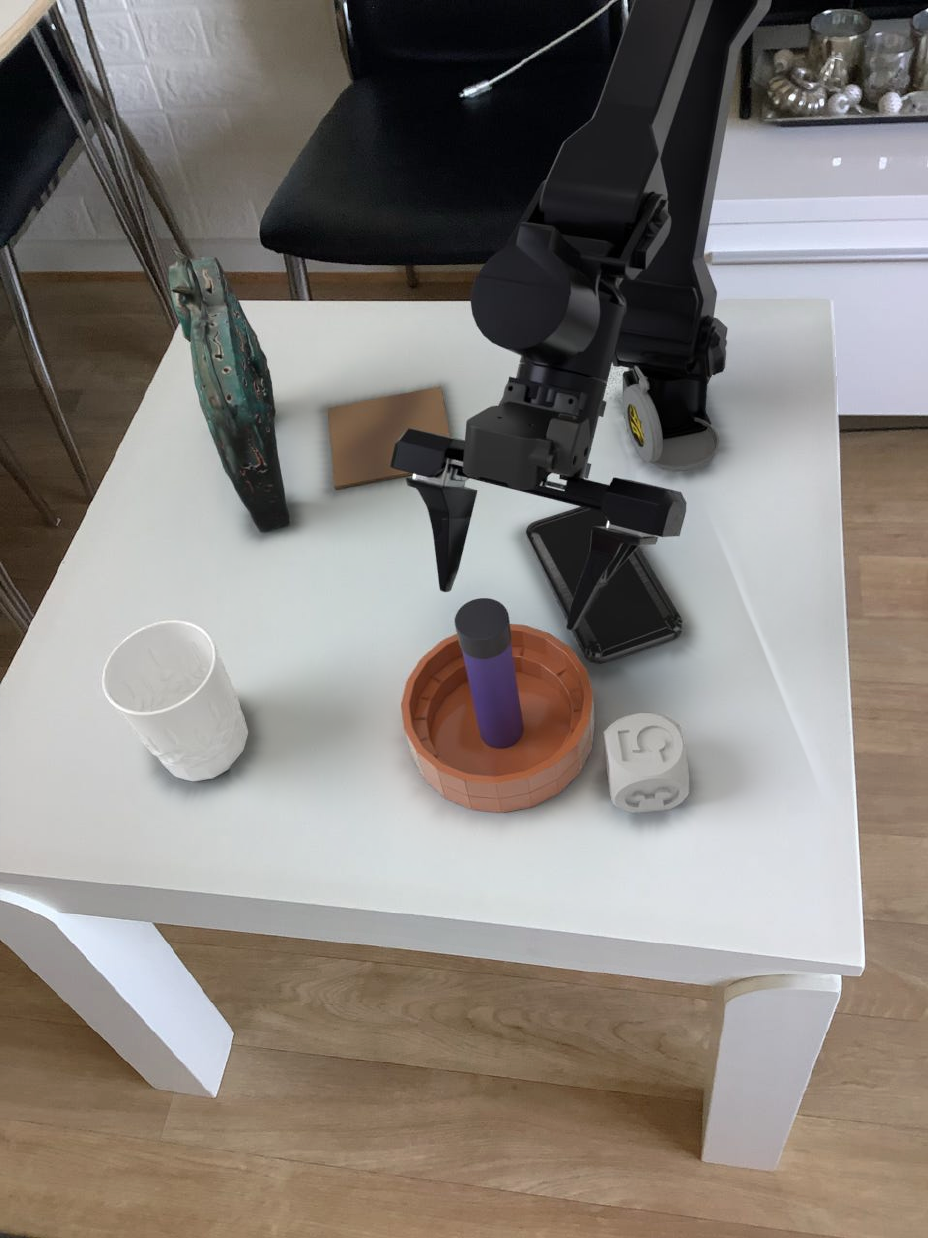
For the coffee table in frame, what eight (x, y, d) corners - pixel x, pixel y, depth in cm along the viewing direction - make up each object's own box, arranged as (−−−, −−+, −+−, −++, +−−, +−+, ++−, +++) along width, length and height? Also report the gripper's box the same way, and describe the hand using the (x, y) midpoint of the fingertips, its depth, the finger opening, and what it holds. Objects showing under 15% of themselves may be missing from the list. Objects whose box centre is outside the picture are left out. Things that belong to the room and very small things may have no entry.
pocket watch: (732, 440, 92) (742, 347, 84) (680, 499, 88) (685, 407, 81) (653, 408, 96) (655, 315, 88) (600, 463, 92) (597, 372, 84)
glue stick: (520, 706, 77) (503, 593, 67) (528, 745, 75) (512, 634, 65) (474, 714, 77) (451, 603, 67) (481, 754, 75) (458, 645, 65)
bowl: (573, 645, 80) (570, 608, 77) (612, 796, 72) (611, 762, 68) (403, 677, 80) (393, 642, 77) (423, 831, 72) (412, 799, 69)
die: (603, 754, 74) (602, 715, 70) (675, 747, 74) (677, 708, 70) (613, 818, 71) (612, 781, 67) (687, 811, 71) (691, 773, 67)
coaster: (440, 389, 101) (440, 385, 101) (456, 466, 94) (455, 463, 94) (328, 410, 101) (327, 407, 101) (335, 489, 94) (334, 486, 94)
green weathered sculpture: (217, 405, 104) (143, 220, 88) (280, 388, 104) (218, 201, 89) (243, 545, 91) (163, 358, 76) (315, 524, 92) (250, 335, 76)
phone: (589, 661, 78) (521, 525, 87) (590, 670, 78) (523, 534, 88) (688, 628, 78) (610, 496, 88) (688, 637, 79) (611, 505, 88)
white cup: (274, 711, 80) (235, 631, 72) (227, 800, 76) (181, 725, 68) (185, 690, 82) (138, 610, 74) (134, 775, 78) (79, 700, 70)
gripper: (376, 326, 63) (324, 578, 65) (678, 387, 56) (606, 666, 59) (452, 353, 73) (404, 571, 76) (715, 408, 66) (652, 645, 69)
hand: (506, 609), depth 69 cm, fingers open, 9 cm apart
